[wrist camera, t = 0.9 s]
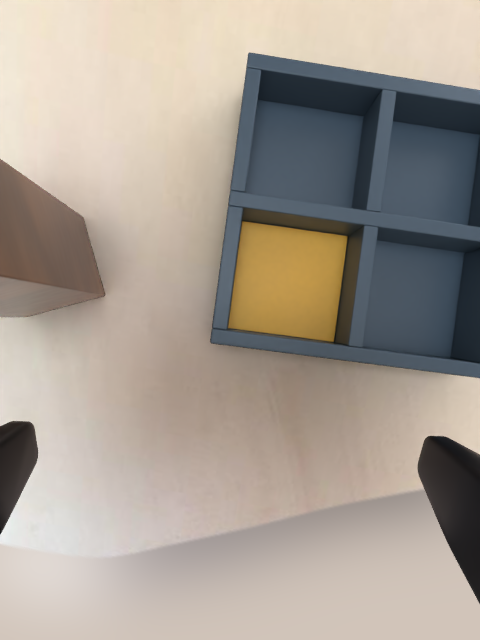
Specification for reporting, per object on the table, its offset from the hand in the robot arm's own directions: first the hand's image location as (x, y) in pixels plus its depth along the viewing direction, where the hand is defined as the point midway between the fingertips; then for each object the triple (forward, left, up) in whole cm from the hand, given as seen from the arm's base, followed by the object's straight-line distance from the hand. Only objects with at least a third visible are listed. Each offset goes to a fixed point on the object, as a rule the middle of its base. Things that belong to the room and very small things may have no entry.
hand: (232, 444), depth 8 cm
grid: (+10, -5, -13) cm, 17 cm away
